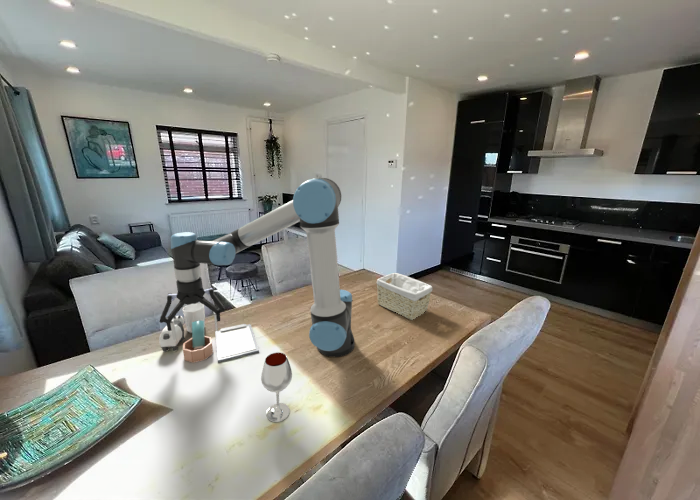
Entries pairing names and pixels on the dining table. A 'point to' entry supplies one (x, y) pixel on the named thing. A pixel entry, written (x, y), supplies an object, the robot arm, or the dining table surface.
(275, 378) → the wineglass
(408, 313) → the storage basket
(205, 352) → the terracotta octagonal bowl
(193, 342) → the teal cylinder
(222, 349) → the clipboard
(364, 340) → the dining table surface
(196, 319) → the white cup
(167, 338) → the giant panda
